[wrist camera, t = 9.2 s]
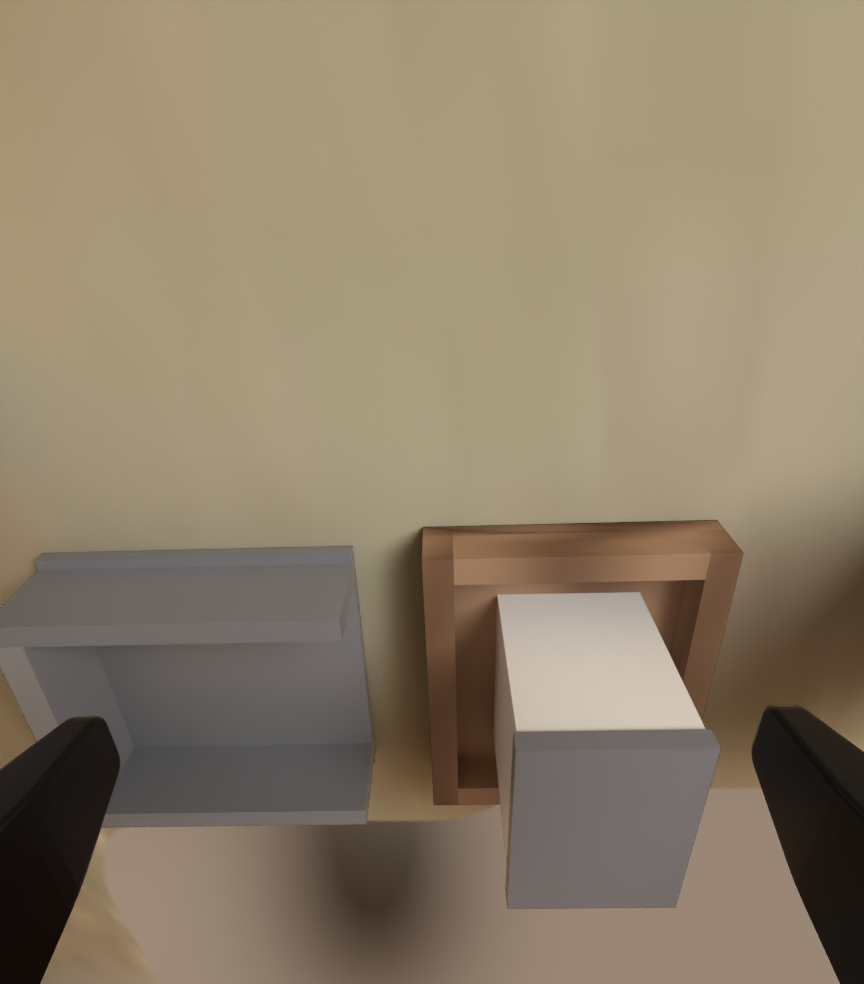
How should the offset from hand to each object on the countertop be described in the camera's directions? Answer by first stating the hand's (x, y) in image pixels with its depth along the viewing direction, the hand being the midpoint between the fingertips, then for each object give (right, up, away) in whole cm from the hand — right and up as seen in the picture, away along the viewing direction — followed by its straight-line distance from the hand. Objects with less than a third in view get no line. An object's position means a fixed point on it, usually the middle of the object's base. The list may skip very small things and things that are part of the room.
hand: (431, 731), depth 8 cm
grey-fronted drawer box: (+5, -3, +15) cm, 16 cm away
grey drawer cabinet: (-8, -3, +15) cm, 18 cm away
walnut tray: (+5, -3, +15) cm, 16 cm away
